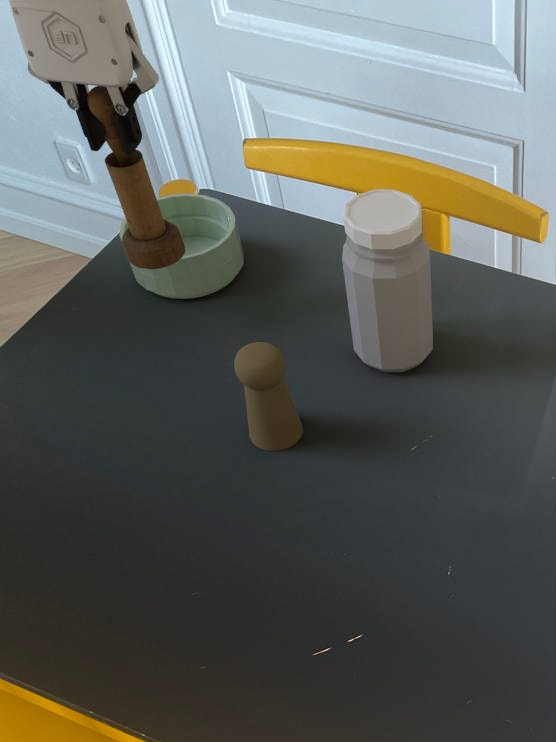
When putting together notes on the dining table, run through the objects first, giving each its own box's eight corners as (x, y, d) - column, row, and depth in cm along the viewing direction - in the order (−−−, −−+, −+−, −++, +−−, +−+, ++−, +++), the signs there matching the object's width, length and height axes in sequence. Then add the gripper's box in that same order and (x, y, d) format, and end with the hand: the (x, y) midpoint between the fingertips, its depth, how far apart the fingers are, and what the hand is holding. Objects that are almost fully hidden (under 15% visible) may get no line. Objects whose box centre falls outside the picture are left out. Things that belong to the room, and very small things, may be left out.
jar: (422, 383, 105) (414, 243, 90) (343, 370, 106) (322, 229, 91) (443, 331, 110) (439, 191, 95) (367, 319, 111) (352, 178, 96)
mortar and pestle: (192, 238, 105) (140, 73, 90) (176, 271, 101) (120, 105, 86) (137, 236, 105) (77, 72, 90) (120, 269, 102) (55, 104, 87)
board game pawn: (305, 412, 102) (288, 332, 93) (300, 450, 99) (283, 371, 89) (252, 413, 102) (230, 333, 93) (246, 451, 98) (223, 372, 89)
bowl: (117, 295, 113) (101, 252, 108) (158, 231, 121) (145, 188, 116) (224, 308, 112) (212, 265, 107) (258, 242, 120) (249, 200, 115)
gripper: (-61, -57, 76) (27, 157, 92) (120, -41, 75) (179, 173, 90) (-21, -91, 80) (58, 120, 96) (152, -76, 79) (203, 135, 94)
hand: (116, 144), depth 93 cm, fingers closed on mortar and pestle, 3 cm apart
